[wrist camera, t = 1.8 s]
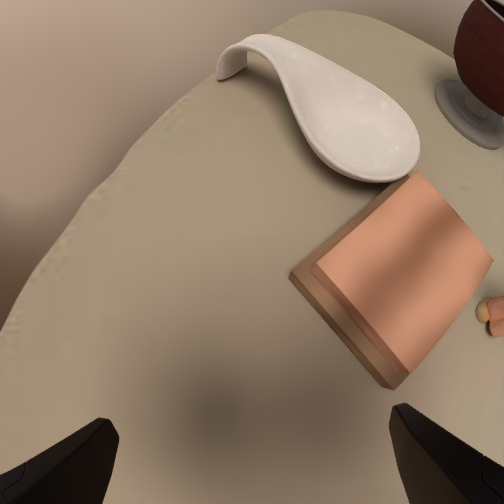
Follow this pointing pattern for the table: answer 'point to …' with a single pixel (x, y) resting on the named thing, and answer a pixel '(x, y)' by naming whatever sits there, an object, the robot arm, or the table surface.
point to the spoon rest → (335, 110)
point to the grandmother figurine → (492, 314)
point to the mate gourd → (477, 76)
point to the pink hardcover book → (395, 277)
